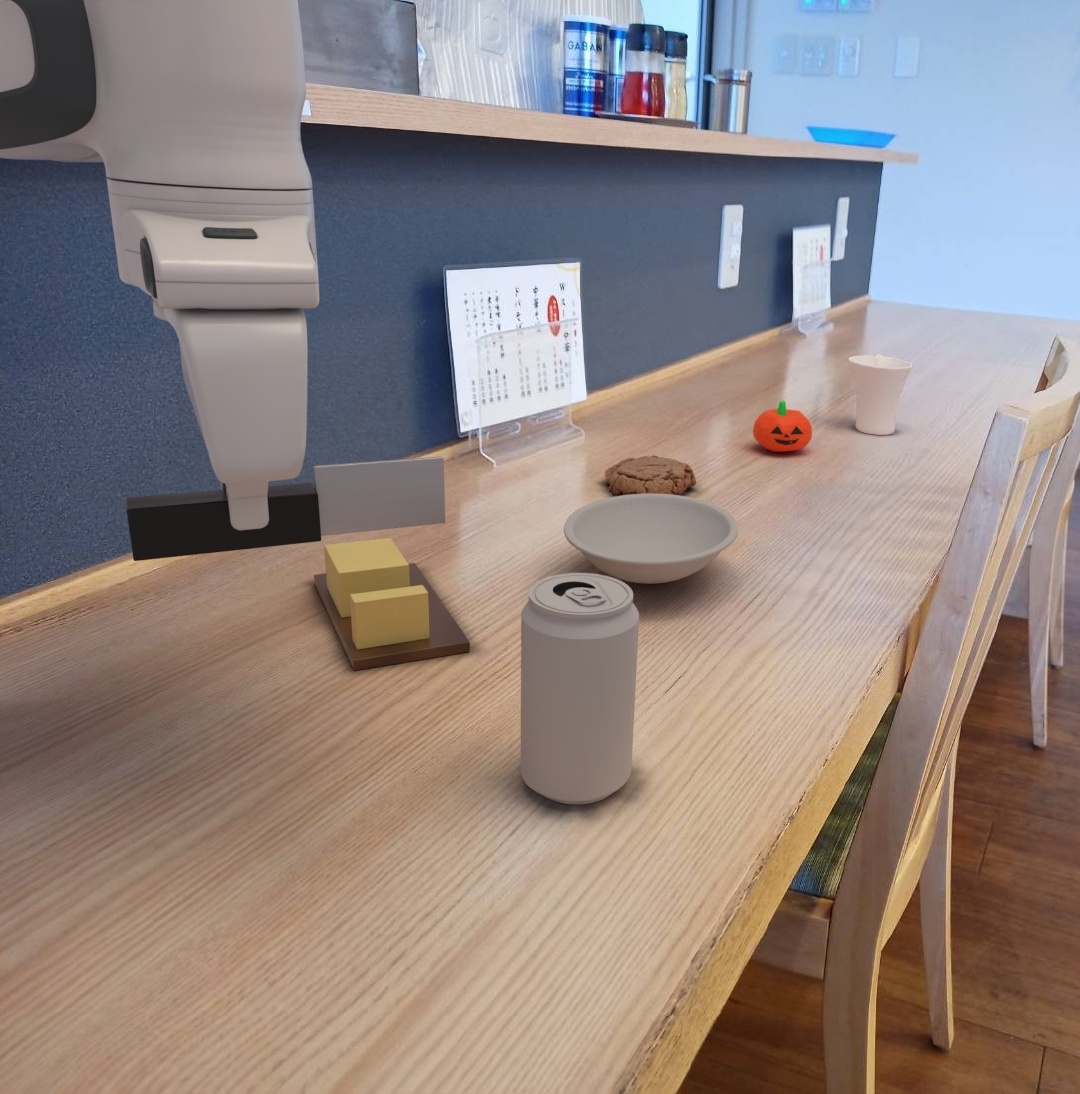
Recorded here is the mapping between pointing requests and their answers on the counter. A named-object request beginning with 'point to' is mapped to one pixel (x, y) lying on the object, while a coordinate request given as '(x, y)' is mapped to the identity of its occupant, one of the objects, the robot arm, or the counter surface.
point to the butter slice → (389, 616)
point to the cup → (878, 391)
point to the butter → (363, 570)
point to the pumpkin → (782, 429)
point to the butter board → (440, 642)
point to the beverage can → (578, 686)
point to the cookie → (649, 476)
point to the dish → (650, 535)
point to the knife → (293, 509)
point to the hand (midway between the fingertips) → (245, 515)
